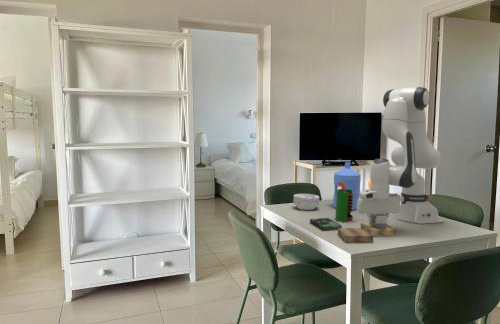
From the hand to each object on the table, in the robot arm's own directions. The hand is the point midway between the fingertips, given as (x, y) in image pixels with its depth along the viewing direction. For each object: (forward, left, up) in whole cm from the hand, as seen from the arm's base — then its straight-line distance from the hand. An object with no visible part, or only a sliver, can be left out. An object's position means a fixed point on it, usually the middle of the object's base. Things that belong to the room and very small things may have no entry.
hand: (377, 222), depth 178 cm
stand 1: (+14, +9, -5) cm, 17 cm away
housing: (0, 0, -2) cm, 2 cm away
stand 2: (0, 0, -5) cm, 5 cm away
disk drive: (+22, -11, -6) cm, 25 cm away
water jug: (-1, -51, -5) cm, 51 cm away
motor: (+9, -23, -5) cm, 25 cm away
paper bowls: (+24, -49, -5) cm, 55 cm away
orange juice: (-20, -54, -5) cm, 58 cm away
